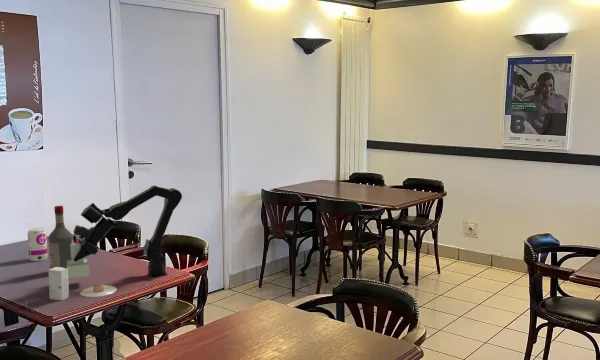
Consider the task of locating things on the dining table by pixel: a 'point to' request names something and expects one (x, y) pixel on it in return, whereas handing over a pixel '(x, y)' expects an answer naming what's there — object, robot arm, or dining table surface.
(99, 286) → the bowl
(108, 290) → the plate
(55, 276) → the skincare box
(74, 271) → the cover
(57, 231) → the liquor
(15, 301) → the dining table surface
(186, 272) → the dining table surface
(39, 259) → the supplement can
